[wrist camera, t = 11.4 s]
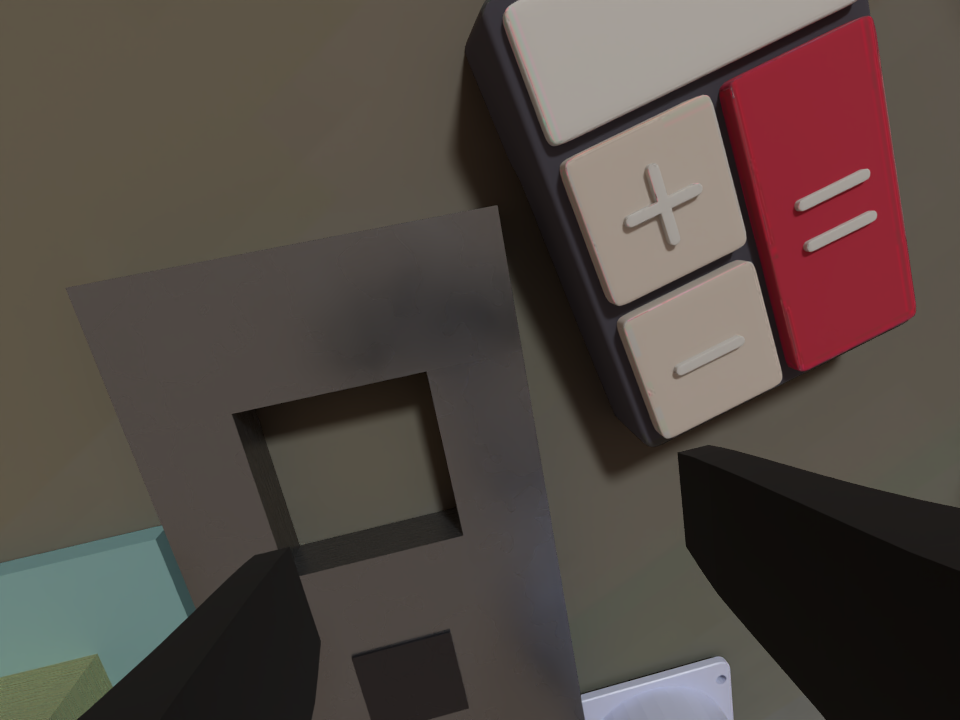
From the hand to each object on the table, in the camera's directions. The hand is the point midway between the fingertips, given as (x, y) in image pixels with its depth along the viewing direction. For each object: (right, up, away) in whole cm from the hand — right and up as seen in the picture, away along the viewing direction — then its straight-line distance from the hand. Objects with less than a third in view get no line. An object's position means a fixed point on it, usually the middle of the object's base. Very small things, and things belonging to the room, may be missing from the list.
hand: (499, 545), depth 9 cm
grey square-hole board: (-4, -3, +11) cm, 12 cm away
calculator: (+7, +10, +10) cm, 16 cm away
